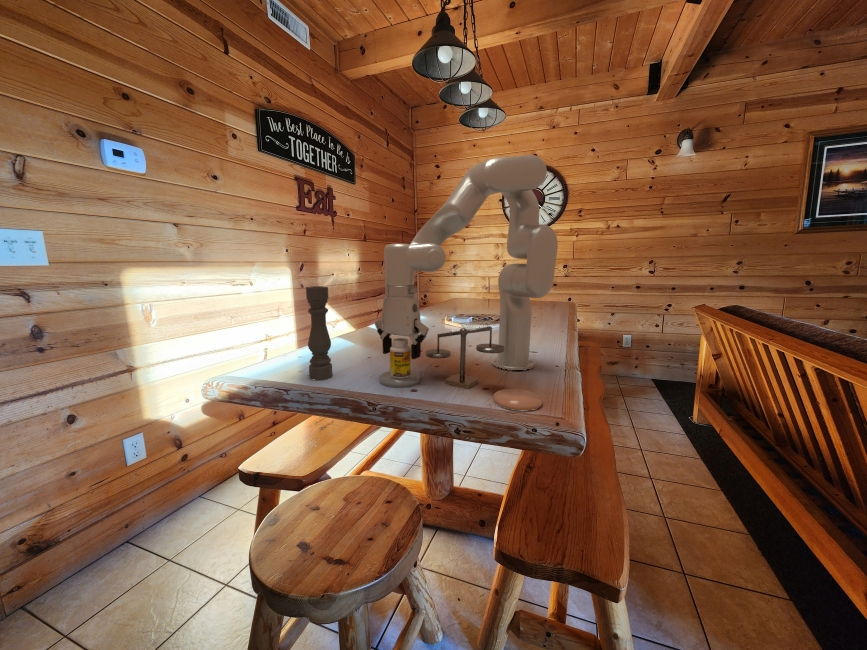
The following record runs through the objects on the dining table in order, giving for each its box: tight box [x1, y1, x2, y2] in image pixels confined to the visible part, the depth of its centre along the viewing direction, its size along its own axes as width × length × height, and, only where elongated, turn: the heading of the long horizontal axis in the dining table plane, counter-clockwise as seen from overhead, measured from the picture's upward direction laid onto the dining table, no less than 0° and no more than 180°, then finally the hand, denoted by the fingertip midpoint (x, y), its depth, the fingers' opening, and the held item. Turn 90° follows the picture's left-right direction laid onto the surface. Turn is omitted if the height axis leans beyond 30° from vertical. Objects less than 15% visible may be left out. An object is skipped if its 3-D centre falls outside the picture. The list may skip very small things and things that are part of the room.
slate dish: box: [378, 370, 421, 389], centre depth 100 cm, size 11×11×1 cm
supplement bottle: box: [389, 337, 412, 379], centre depth 99 cm, size 6×6×10 cm
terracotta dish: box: [493, 388, 543, 410], centre depth 86 cm, size 11×11×1 cm
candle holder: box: [305, 285, 333, 381], centre depth 100 cm, size 6×6×25 cm
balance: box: [425, 325, 504, 390], centre depth 97 cm, size 7×22×16 cm, turn 57°
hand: (401, 355), depth 99 cm, fingers open, 9 cm apart
